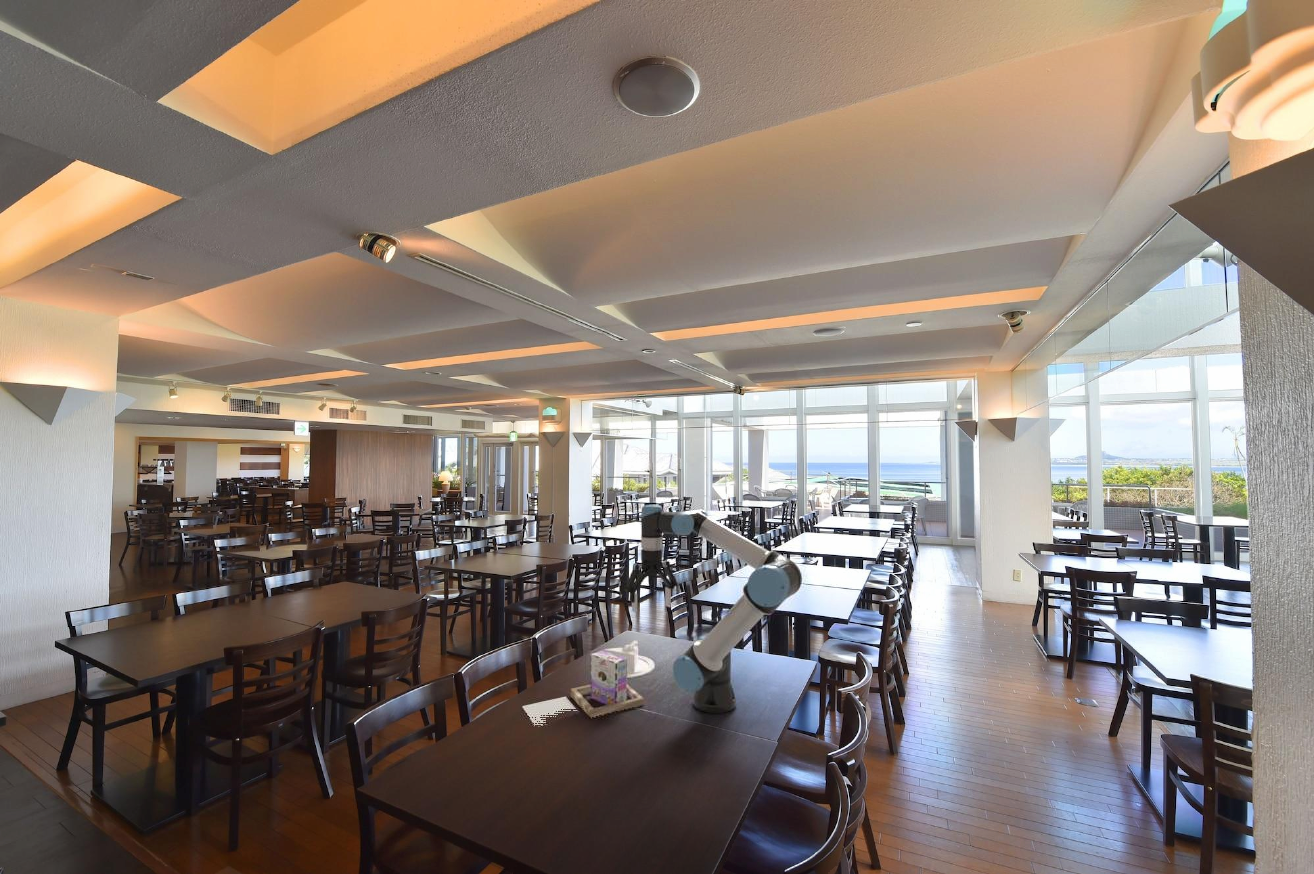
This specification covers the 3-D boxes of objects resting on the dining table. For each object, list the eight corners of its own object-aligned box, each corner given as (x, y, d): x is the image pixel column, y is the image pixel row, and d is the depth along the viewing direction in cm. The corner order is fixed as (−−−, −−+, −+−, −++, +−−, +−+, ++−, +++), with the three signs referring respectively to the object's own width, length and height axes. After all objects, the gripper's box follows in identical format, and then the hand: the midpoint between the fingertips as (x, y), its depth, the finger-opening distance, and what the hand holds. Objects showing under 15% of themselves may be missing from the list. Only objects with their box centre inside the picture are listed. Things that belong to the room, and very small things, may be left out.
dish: (657, 658, 236) (657, 632, 237) (651, 681, 211) (651, 652, 212) (602, 655, 239) (602, 630, 239) (590, 678, 214) (590, 650, 214)
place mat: (585, 721, 178) (585, 719, 178) (538, 733, 170) (538, 731, 170) (565, 698, 196) (565, 696, 196) (522, 707, 188) (522, 706, 188)
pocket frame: (643, 706, 189) (643, 698, 189) (591, 720, 179) (591, 711, 179) (619, 685, 206) (619, 678, 206) (570, 696, 197) (570, 688, 197)
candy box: (627, 705, 190) (627, 658, 191) (615, 710, 186) (616, 663, 187) (601, 693, 200) (602, 649, 200) (589, 698, 195) (590, 653, 196)
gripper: (675, 544, 200) (676, 601, 199) (615, 550, 188) (615, 611, 187) (686, 547, 193) (686, 606, 192) (624, 553, 181) (624, 616, 180)
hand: (651, 608), depth 189 cm, fingers open, 13 cm apart
